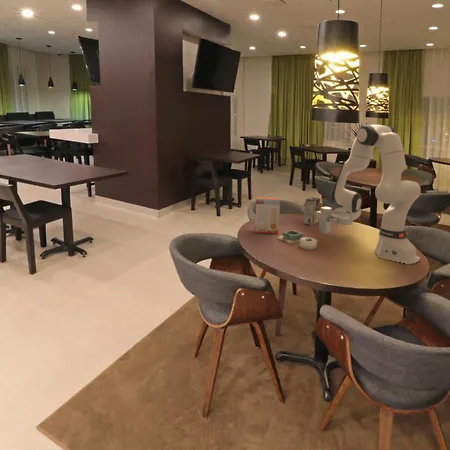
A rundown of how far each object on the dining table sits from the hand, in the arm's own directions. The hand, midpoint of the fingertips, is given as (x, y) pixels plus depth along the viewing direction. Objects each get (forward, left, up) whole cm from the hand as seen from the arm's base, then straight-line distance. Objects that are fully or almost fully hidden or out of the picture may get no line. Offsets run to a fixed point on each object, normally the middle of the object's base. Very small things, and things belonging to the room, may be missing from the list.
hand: (324, 219), depth 234 cm
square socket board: (+13, +10, -14) cm, 22 cm away
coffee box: (+30, -27, -14) cm, 43 cm away
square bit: (0, -1, -8) cm, 8 cm away
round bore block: (0, +12, -14) cm, 18 cm away
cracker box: (+32, +12, -14) cm, 37 cm away
